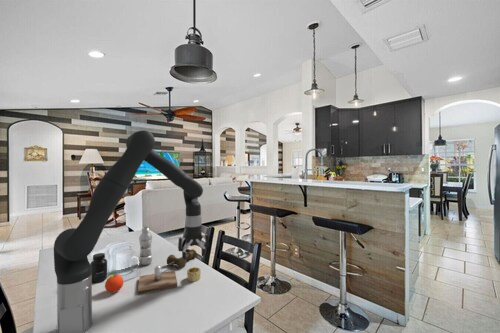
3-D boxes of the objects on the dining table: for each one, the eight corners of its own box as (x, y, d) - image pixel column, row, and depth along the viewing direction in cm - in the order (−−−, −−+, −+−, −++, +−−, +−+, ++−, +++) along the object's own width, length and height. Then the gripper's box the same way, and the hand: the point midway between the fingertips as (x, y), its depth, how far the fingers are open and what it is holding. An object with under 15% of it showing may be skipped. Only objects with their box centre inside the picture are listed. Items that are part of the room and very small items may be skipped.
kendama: (200, 259, 134) (173, 273, 116) (187, 257, 138) (160, 269, 121) (200, 249, 134) (173, 261, 116) (187, 246, 138) (160, 258, 121)
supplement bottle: (98, 284, 106) (98, 258, 105) (86, 282, 107) (86, 257, 107) (110, 277, 112) (110, 252, 112) (98, 275, 114) (98, 251, 113)
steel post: (161, 280, 106) (161, 266, 106) (154, 282, 105) (154, 267, 105) (161, 277, 109) (161, 264, 108) (154, 278, 107) (154, 265, 107)
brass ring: (201, 280, 109) (201, 271, 109) (188, 282, 107) (188, 274, 107) (199, 274, 115) (199, 266, 115) (186, 276, 112) (186, 268, 112)
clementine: (98, 295, 97) (98, 278, 97) (110, 286, 104) (110, 270, 104) (115, 296, 96) (115, 279, 96) (127, 287, 103) (127, 271, 102)
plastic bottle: (139, 262, 128) (139, 227, 128) (152, 260, 131) (152, 225, 130) (138, 267, 122) (138, 230, 122) (152, 265, 125) (151, 228, 124)
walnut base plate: (177, 287, 103) (177, 283, 103) (137, 294, 97) (137, 291, 97) (174, 273, 116) (174, 270, 116) (139, 279, 110) (139, 276, 110)
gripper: (178, 228, 104) (179, 263, 105) (209, 224, 110) (210, 258, 110) (177, 223, 111) (177, 257, 112) (206, 220, 117) (206, 252, 117)
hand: (193, 257), depth 111 cm, fingers open, 8 cm apart
